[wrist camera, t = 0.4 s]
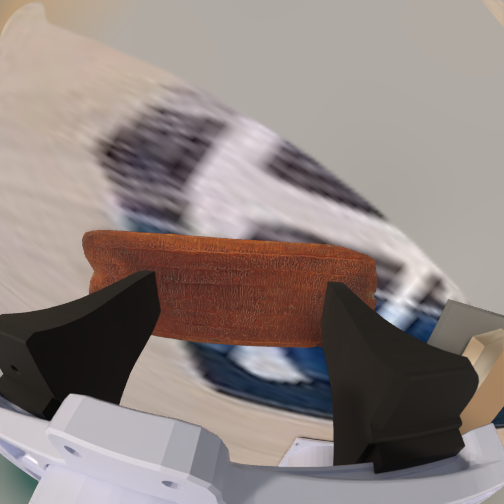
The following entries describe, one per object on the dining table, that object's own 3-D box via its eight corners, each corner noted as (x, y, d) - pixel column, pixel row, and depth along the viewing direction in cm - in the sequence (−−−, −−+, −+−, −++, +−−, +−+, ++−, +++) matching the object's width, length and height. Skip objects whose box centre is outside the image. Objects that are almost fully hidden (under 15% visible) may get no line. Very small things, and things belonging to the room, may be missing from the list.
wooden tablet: (98, 319, 28) (90, 326, 26) (85, 226, 25) (74, 230, 23) (362, 351, 25) (365, 362, 23) (384, 246, 22) (391, 252, 20)
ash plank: (417, 447, 26) (423, 454, 24) (373, 468, 23) (379, 478, 21) (501, 328, 20) (510, 335, 19) (472, 336, 17) (484, 345, 16)
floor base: (464, 441, 27) (469, 452, 24) (359, 443, 28) (361, 457, 25) (542, 327, 21) (552, 336, 18) (448, 299, 22) (460, 311, 19)
